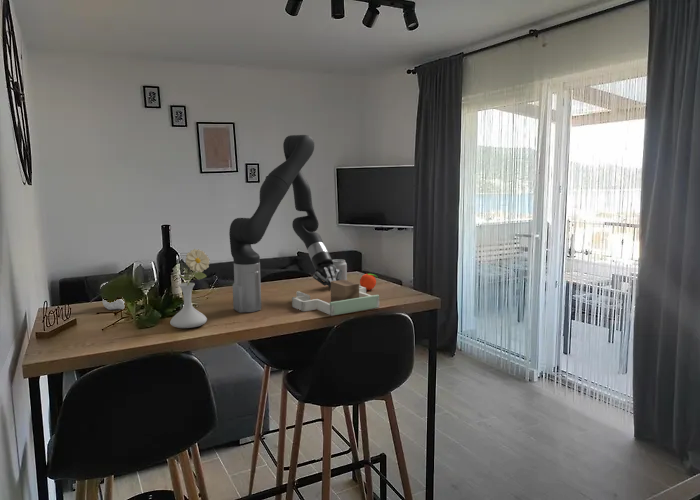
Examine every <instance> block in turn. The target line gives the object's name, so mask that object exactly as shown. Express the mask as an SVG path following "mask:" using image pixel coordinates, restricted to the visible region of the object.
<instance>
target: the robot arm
mask: <svg viewBox="0 0 700 500" xmlns="http://www.w3.org/2000/svg"><path fill="white" fill-rule="evenodd" d="M282 146H283V147H282V149H283V154H284V158H285V161H283V162H282V163H280V164H279V165H277V166H276V167H275V168H274V169H272V170H271V171H270V172H269V173H268V175H267V176H266V178H265V179H264V181H262V184H261V186H260V189H259V203H258V206H257V208H256V210H255V212H254V213H253V214H252V216H251V217H236V218H235V219H233V220H232V221H231V223H230V226H229V233H228V235H229V245H230V254H231V257H232V259H233V276H234V277H233V279H234V282H233V283H232V300H233V301H232V303H233V304H232V305H233V310H234V311H235V312H237V313H254V312H259V311H261V310H262V291H261V290H262V287H261V284H262V283H261V282H262V281H261V258H260V254H259V253H258V252H256V251H255V250H254V249H253V248H252V245H256V244H258V243H260V241H262V239H263V237H264V235H265V233H266V232H267V229H268V227H269V225H270V223H271V220H272V218H273V216H274V214H275V213H276V211H277V209H278V207H279V206H280V204H281V202H282V200H283V199H284V198H285V196H286V195H287V193H288V192H289V189H290V187H291V185H292V190H293V201H294V208H295V210H296V211H297V212H305V213H306V214H307V215H303V216H297V217H295V218H294V219H293V221H292V223H291V225H292V230H293V231H294V233H295V235H297V237H298V238H299V239H300V240H301V241H302V243H303V244H304V245H305V248H306V250H307V252H308V256H309V258H310V261H311V262H312V265H313V267H314V269H315V272H314V274H313V275H312V278H313V279H314V280H316V281H317V282H318V283H320V284H321V285H323V286H327V287H329V289H330V290H331V281H338V280H340V278H341V275H342V272H343V270H342V269H340V270H338V269H336V267H335V266H334V265H333V261H332V260H333V259H332V257H331V254H330V252H329V250H328V248H327V247H326V245H325V243H324V240H323V239H322V237H321V235H320V233H318V232H317V230H318V229H319V219H318V218H317V216H316V212H315V209H314V206H313V199H312V191H311V186H310V184H309V182H308V181H307V179H306V177H305V175H304V174H303V172H302V169H303V167H304V166H305V165H306V164H307V162H308V161H309V160H310V158H311V157H312V155H313V153H314V150H315V141H314V139H313V137H312V136H310V135H307V134H291V135H287V136H286V137H285V139H284V140H283V145H282ZM335 272H336V275H337V277H336V278H335Z"/></svg>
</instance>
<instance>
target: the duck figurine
mask: <svg viewBox="0 0 700 500" xmlns="http://www.w3.org/2000/svg"><path fill="white" fill-rule="evenodd" d="M108 282H109V281H107V282H106V281H105V282H104V283H102V284H101V285H100V288H101V287H102V286H103V285H105V284H106V283H108ZM123 300H124V299H123ZM123 300H122V299H119V300H116V301H114V302H111V303H109V302H107V301H106V300H104V299H103V298H102V304H103V307H104V308H105V309H106V310H109V311H112V310H124V309H125V305H126V304H125V305H124V303H125V300H124V301H123Z"/></svg>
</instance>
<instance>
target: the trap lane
mask: <svg viewBox="0 0 700 500" xmlns="http://www.w3.org/2000/svg"><path fill="white" fill-rule="evenodd" d="M295 293H296V296H293V297H291V307H292V308H294V309H296V310H298V309H299V311H300V310H301V311H300V312H308V311H314V310H318V311H320V312H322V313H325V314H327V315H329V316H338V315H342V314H343V315H344V314H348V313H354V312H355V313H356V312H360V311H366V310H371V309H377V308H380V295H379V294H373V295H371V294H369V293H367V290H366V288H365V287H362V286H361V285H359V298H354V299H347V300H341V301H335V302H331V301H329V302H328V301H325V300H322V299H320V298H315V299H314V298H313V299H311V295H310V294H308V293H304V292H302V291H300V290H297V291H296V292H295Z"/></svg>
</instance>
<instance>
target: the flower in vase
mask: <svg viewBox="0 0 700 500" xmlns="http://www.w3.org/2000/svg"><path fill="white" fill-rule="evenodd" d="M185 256H186V257H185V264H186V266H187V267H188V268H189V270H190V271H192V275H191V276H190V278H189V277H188V276H185V275H181V274H180V273H178V277H179V278H180V279H184V280H187V281H188V282H182V283H179V284H178V286H179V287H180V288H179V289H180V290H181V292H182V296H183V306H182V308H181V309H179V311H178V312H177V313H176V314H175V315H173V316H172V318H171V319H170V322H169V323H170V325H171V326H172V327H175V328H178V329H190V328H191V329H193V328H197V327H200V326H202V325H204V324H205V323H207V322H208V318H207V316H206V315H205V314H204V313H202V312H200V311H199V310H198V309H196V308H195V307H194V306H193V304H192V292H193V289H194V286H195V284H196V283H195V282H191V280H192V279H193V277H194V278H196V279H197V280H202V279H205V278H207V274H205V273H204V270H205V271H206V270H207V269H208V268H209V267H210V266H209V265H210V264H211V263H210V258H209V256H208V255H207V253H205V251H203V250H201V249H196V248H194V249H192V250H190V251H189V252H187V253H186V255H185Z"/></svg>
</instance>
